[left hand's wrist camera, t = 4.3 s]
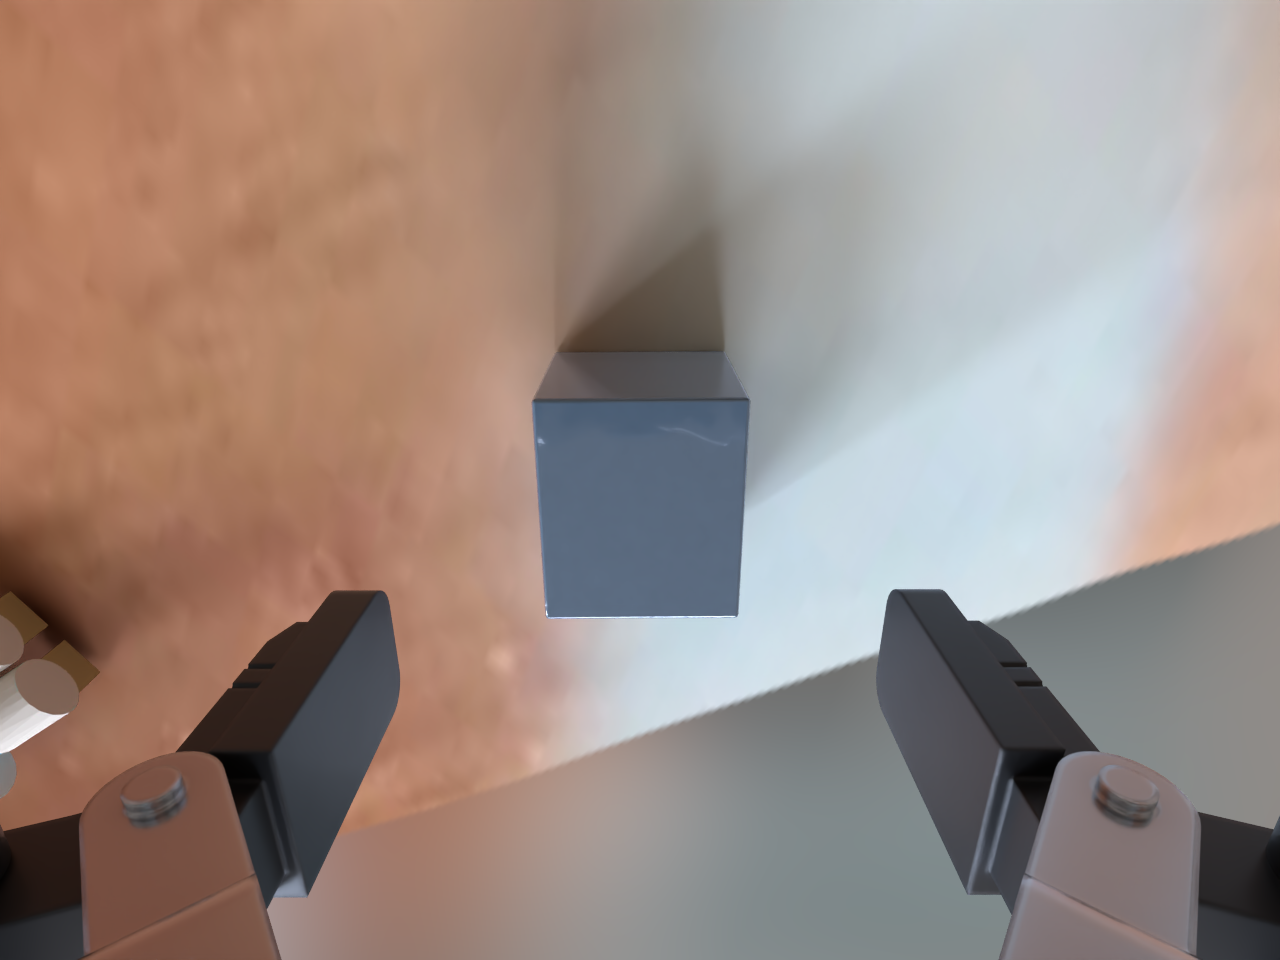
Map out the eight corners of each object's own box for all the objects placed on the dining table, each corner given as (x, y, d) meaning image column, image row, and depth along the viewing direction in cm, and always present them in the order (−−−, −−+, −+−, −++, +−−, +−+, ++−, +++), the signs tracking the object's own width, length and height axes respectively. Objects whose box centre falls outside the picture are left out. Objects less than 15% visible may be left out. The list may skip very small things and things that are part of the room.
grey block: (554, 351, 18) (530, 399, 14) (725, 350, 18) (750, 398, 14) (563, 533, 20) (545, 620, 16) (718, 531, 20) (738, 619, 16)
